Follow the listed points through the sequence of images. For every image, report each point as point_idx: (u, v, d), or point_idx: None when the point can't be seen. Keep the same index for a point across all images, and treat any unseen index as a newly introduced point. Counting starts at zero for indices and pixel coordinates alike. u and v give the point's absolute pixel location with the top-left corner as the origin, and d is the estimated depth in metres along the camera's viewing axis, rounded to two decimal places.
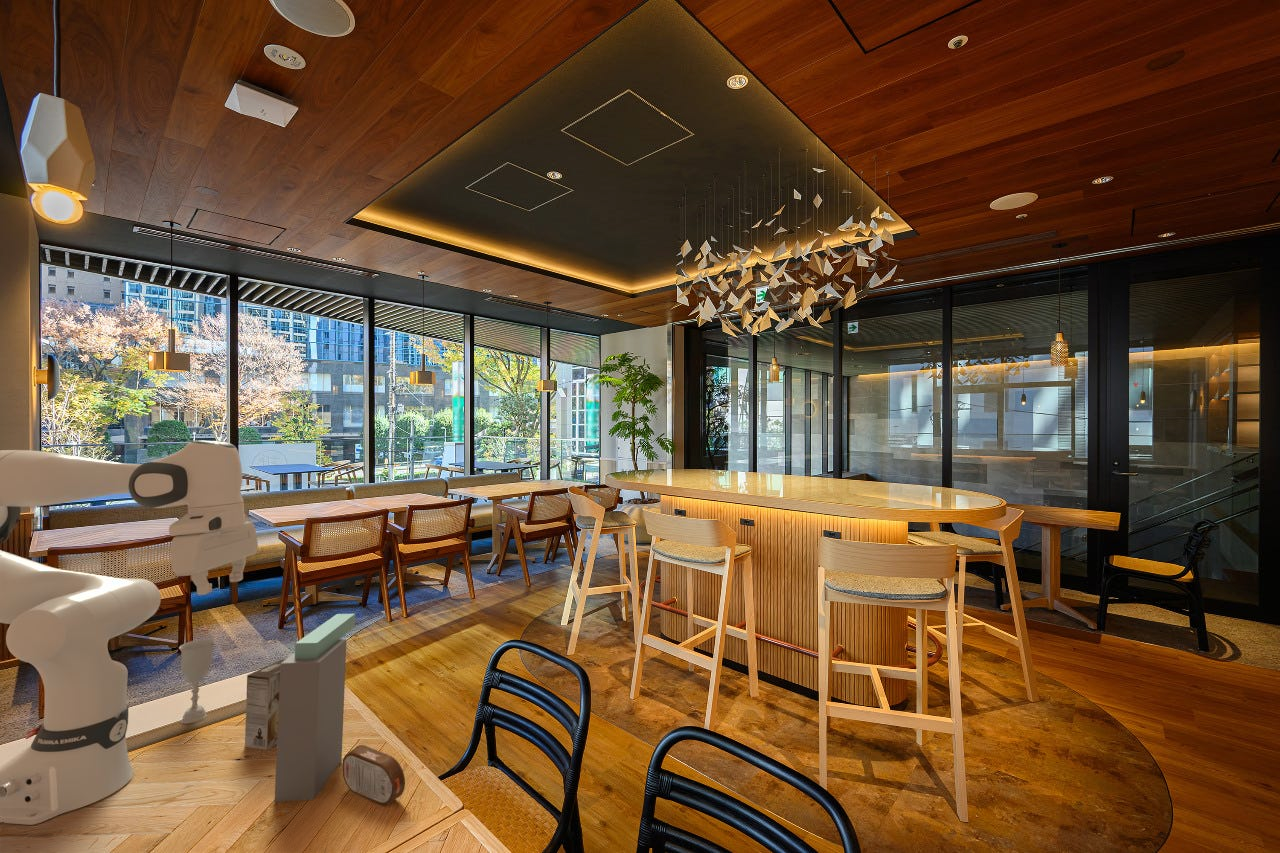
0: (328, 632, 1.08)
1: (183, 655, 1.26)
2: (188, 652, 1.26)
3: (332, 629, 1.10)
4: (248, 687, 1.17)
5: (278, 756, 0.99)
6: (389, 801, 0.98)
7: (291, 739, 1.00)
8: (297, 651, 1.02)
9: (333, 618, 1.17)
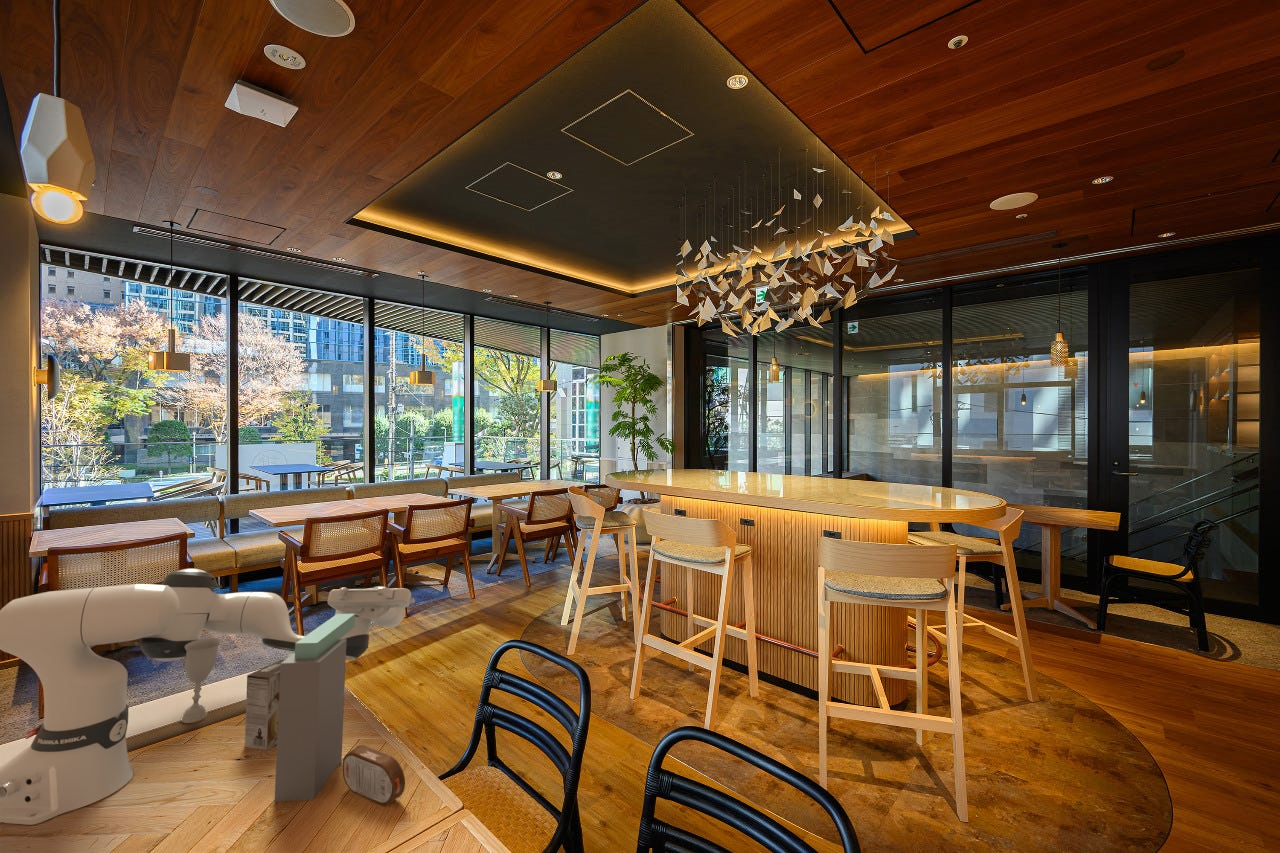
0: (328, 632, 1.08)
1: (188, 654, 1.26)
2: (194, 652, 1.25)
3: (332, 629, 1.10)
4: (248, 687, 1.17)
5: (278, 756, 0.99)
6: (389, 801, 0.98)
7: (291, 739, 1.00)
8: (297, 651, 1.02)
9: (333, 618, 1.17)
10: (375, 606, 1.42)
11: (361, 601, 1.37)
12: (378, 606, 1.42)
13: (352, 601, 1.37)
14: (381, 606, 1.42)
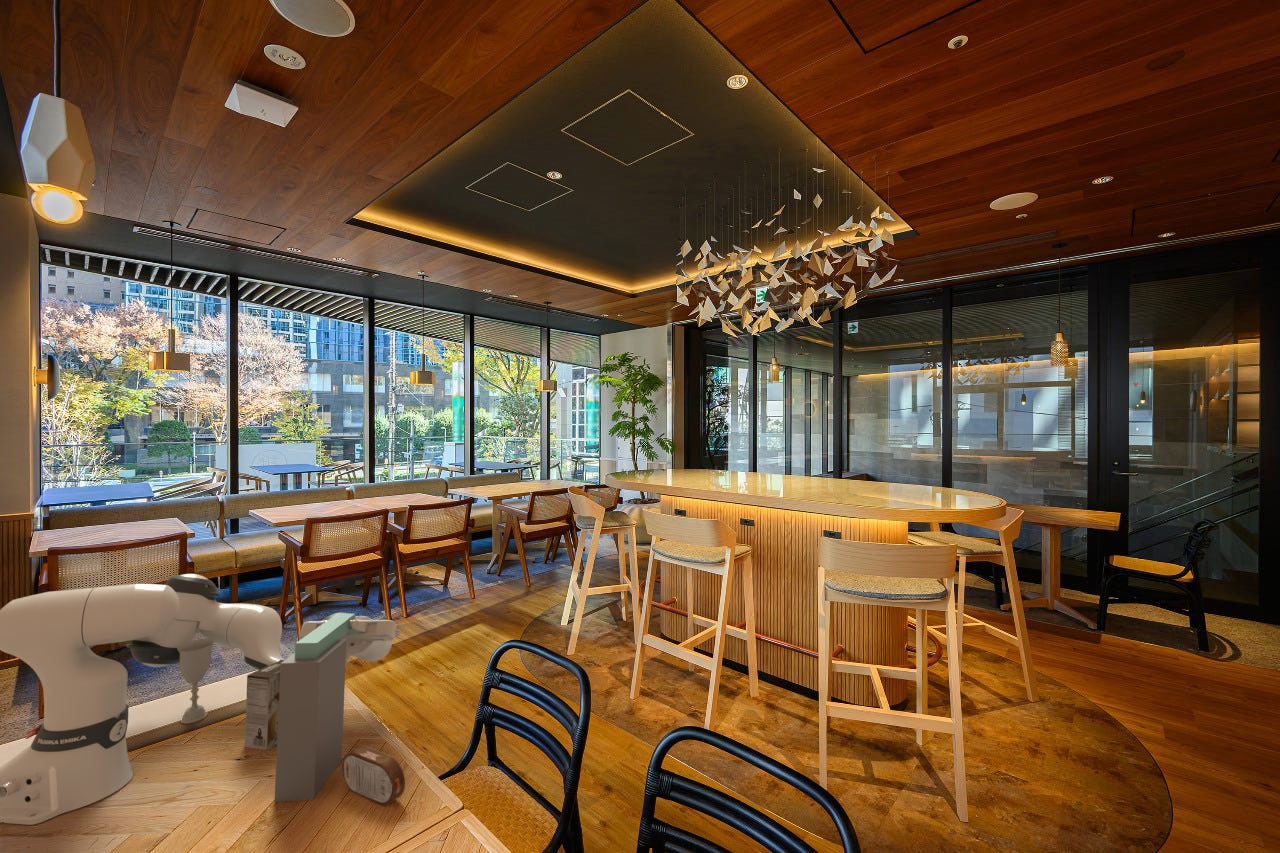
0: (328, 632, 1.08)
1: (182, 656, 1.25)
2: (187, 653, 1.25)
3: (332, 629, 1.10)
4: (248, 687, 1.17)
5: (278, 756, 0.99)
6: (389, 801, 0.98)
7: (291, 739, 1.00)
8: (297, 651, 1.02)
9: (333, 618, 1.17)
10: (355, 640, 1.24)
11: None
12: (359, 640, 1.24)
13: None
14: (362, 640, 1.24)
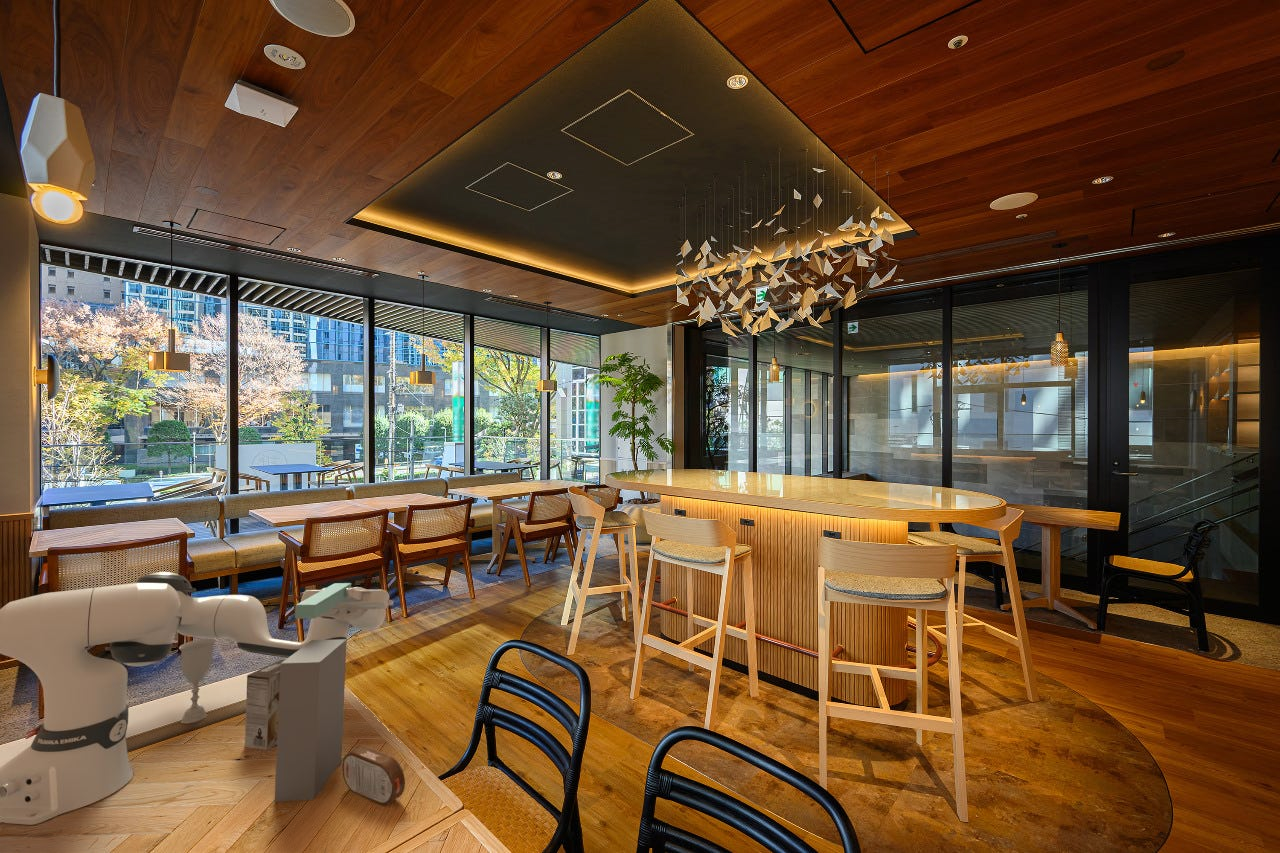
0: (326, 597, 1.20)
1: (183, 655, 1.26)
2: (188, 652, 1.26)
3: (329, 594, 1.22)
4: (248, 687, 1.17)
5: (278, 756, 0.99)
6: (389, 801, 0.98)
7: (291, 739, 1.00)
8: (298, 612, 1.14)
9: (331, 586, 1.29)
10: (351, 608, 1.36)
11: None
12: (354, 608, 1.36)
13: None
14: (357, 608, 1.36)
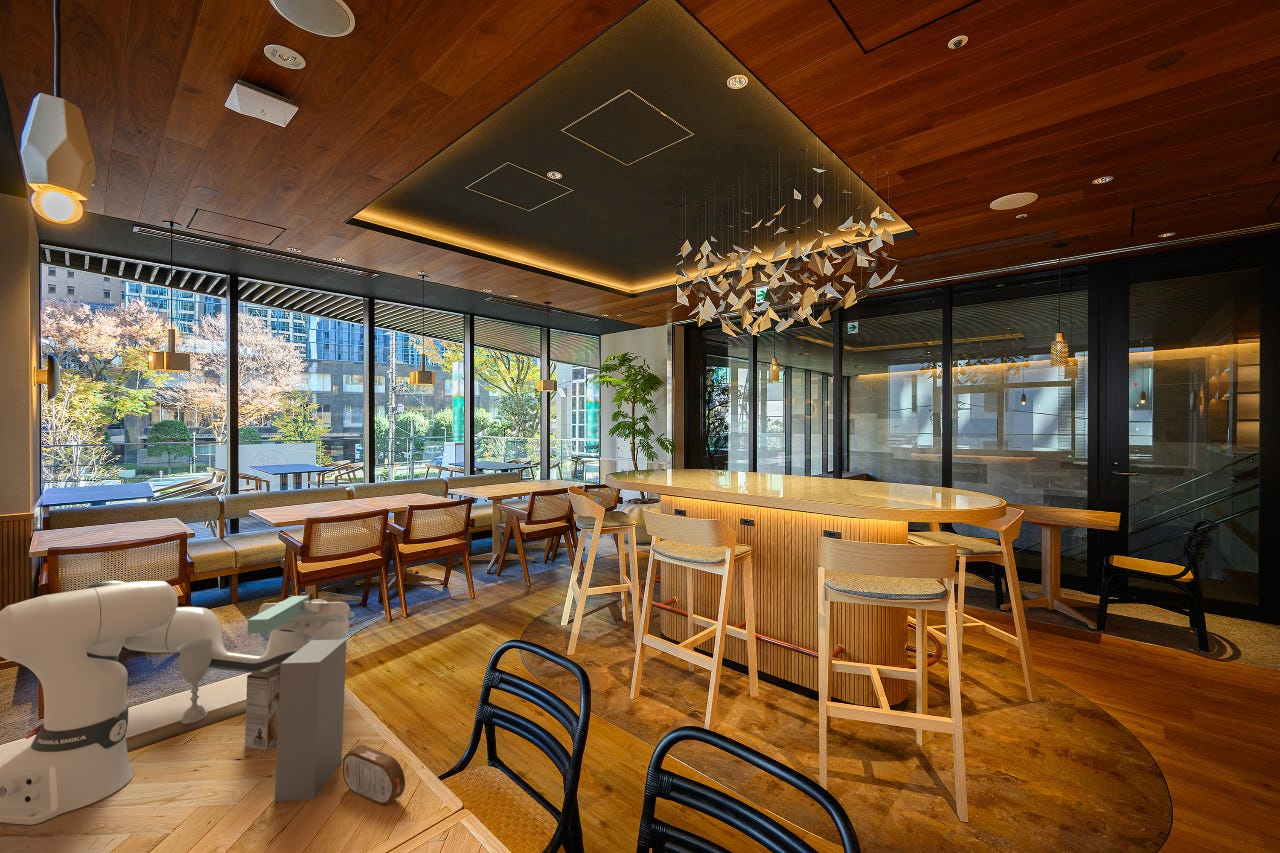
0: (280, 611, 1.19)
1: (182, 656, 1.25)
2: (186, 653, 1.25)
3: (284, 608, 1.20)
4: (248, 687, 1.17)
5: (278, 756, 0.99)
6: (389, 801, 0.98)
7: (291, 739, 1.00)
8: (250, 627, 1.12)
9: (288, 599, 1.27)
10: (310, 620, 1.34)
11: None
12: (314, 620, 1.34)
13: None
14: (317, 620, 1.35)
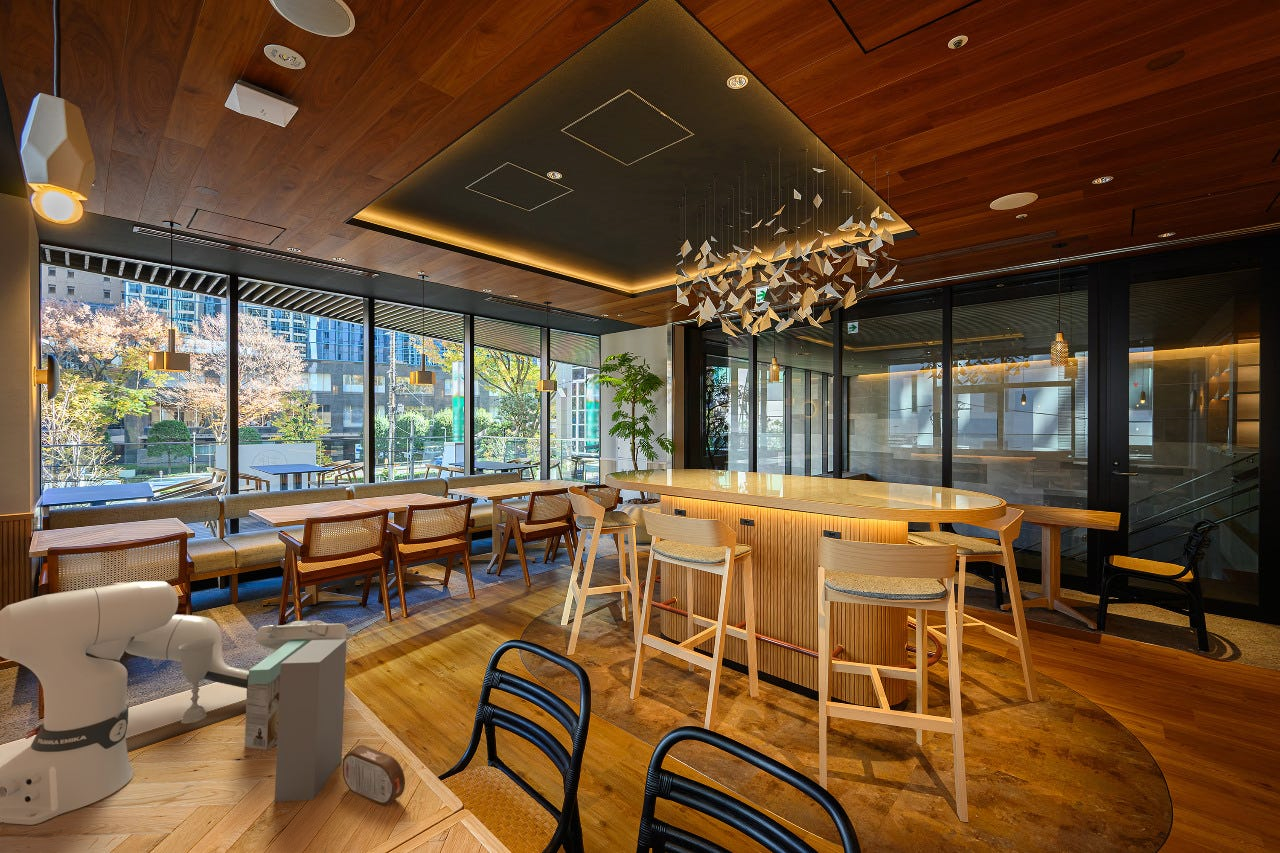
0: (281, 658, 1.19)
1: (183, 655, 1.26)
2: (188, 652, 1.26)
3: (285, 655, 1.20)
4: (248, 687, 1.17)
5: (278, 756, 0.99)
6: (389, 801, 0.98)
7: (291, 739, 1.00)
8: (251, 678, 1.12)
9: (287, 644, 1.27)
10: None
11: (291, 638, 1.29)
12: None
13: (282, 639, 1.29)
14: None
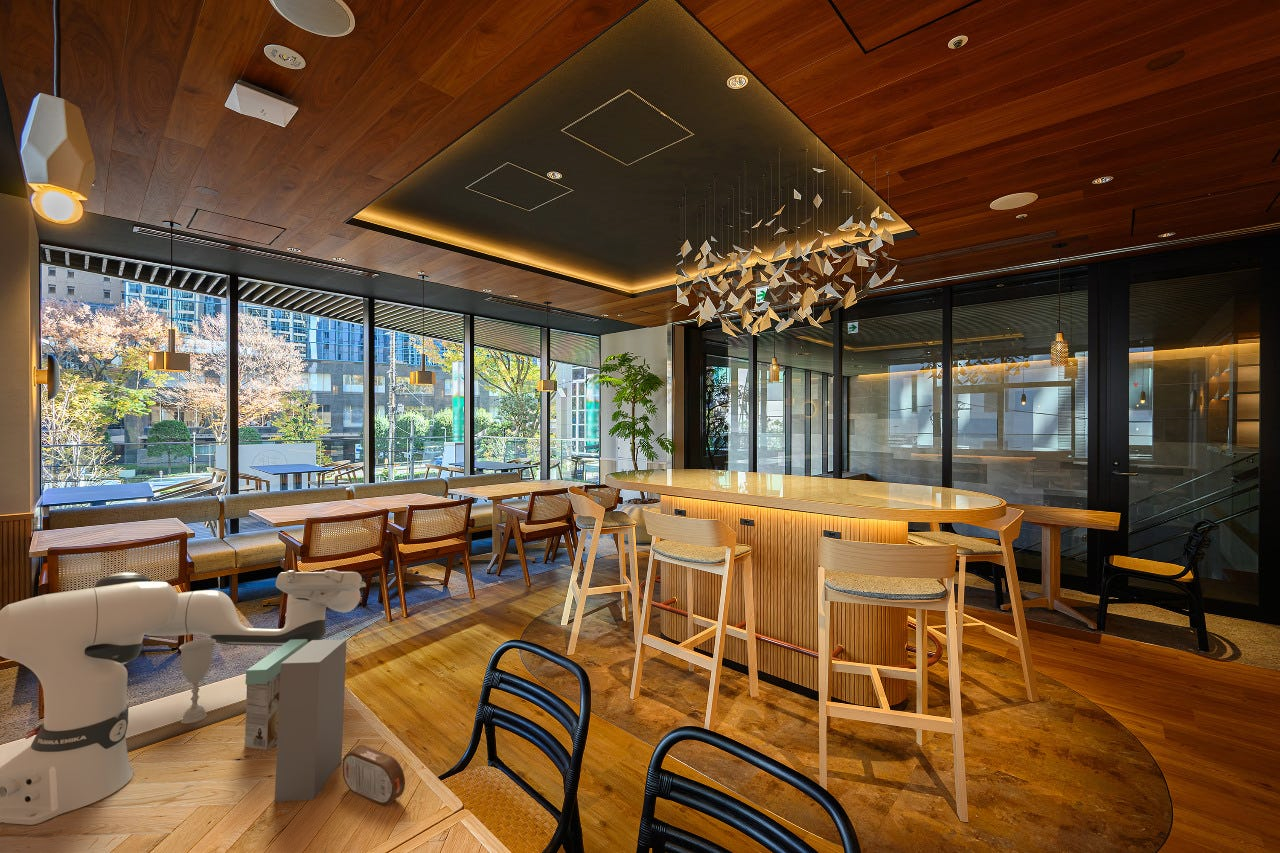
0: (278, 659, 1.18)
1: (183, 655, 1.26)
2: (188, 652, 1.26)
3: (283, 655, 1.20)
4: (248, 687, 1.17)
5: (278, 756, 0.99)
6: (389, 801, 0.98)
7: (291, 739, 1.00)
8: (248, 678, 1.12)
9: (286, 644, 1.27)
10: (325, 589, 1.42)
11: (309, 584, 1.38)
12: (328, 589, 1.42)
13: (300, 584, 1.37)
14: (331, 589, 1.42)
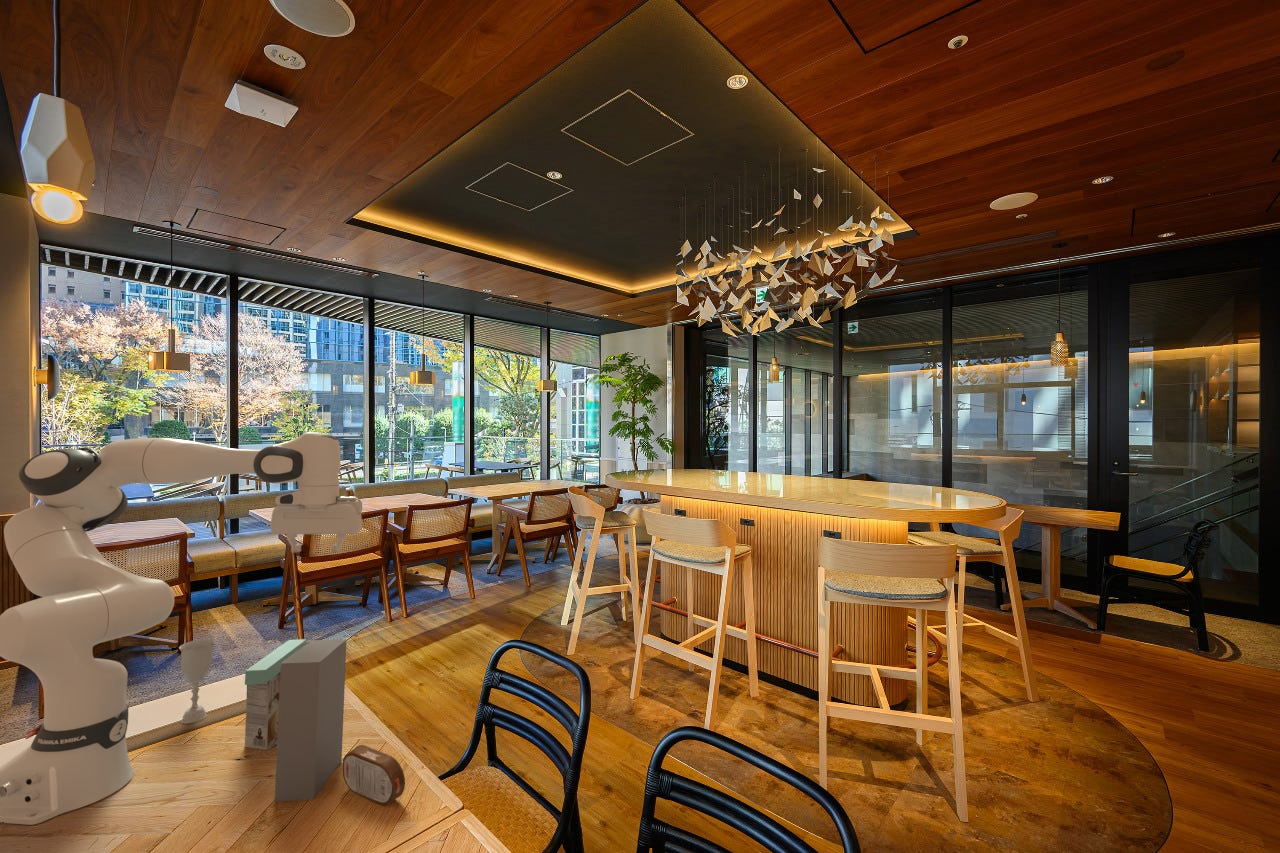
0: (278, 659, 1.18)
1: (183, 655, 1.26)
2: (188, 652, 1.26)
3: (282, 656, 1.20)
4: (248, 687, 1.17)
5: (278, 756, 0.99)
6: (389, 801, 0.98)
7: (291, 739, 1.00)
8: (247, 678, 1.12)
9: (285, 644, 1.27)
10: None
11: None
12: None
13: None
14: None
